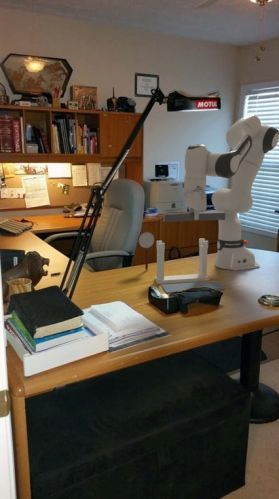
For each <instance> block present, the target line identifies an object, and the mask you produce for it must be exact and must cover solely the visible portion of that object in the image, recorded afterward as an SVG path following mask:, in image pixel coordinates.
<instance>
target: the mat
mask: <svg viewBox="0 0 279 499" xmlns="http://www.w3.org/2000/svg"><path fill="white" fill-rule="evenodd" d="M161 287H162V289H163V290H164V292H165V294H167V293H168V294H173V293H172V292H176V291H182V290H186V289H189V288H193V287H210V288H213V289H215V290H214V291H221V290H226V289H227V288H226V286H224V285H223V284H222V283H220V282H219V280H212V281H211V280H209V281H194V282H180V283H165V284H161Z"/></svg>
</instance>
